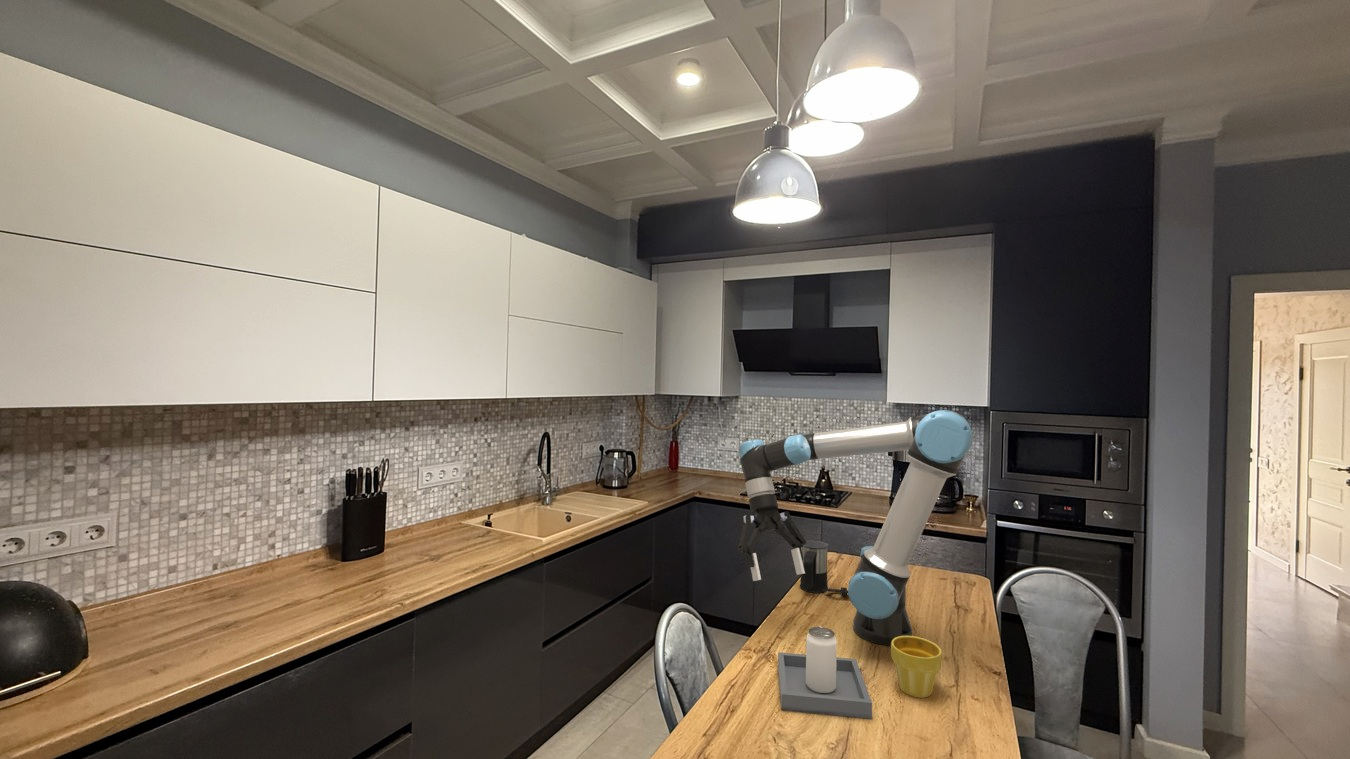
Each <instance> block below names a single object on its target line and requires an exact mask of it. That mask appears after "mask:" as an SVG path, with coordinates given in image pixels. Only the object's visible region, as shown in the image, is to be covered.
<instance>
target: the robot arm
mask: <svg viewBox="0 0 1350 759" xmlns="http://www.w3.org/2000/svg"><path fill="white" fill-rule="evenodd" d="M973 436H974V435H973V431H972V427H971V425H970V422H969V421H968V419H967V418H966V417H965V416H964V415H963V414H961V413H959V412H957V411H955V410H953V409H952V410H950V409H938V410H935V411H933V412H929V413H928V414H927V413H926V414H923V415H917V416H910V417H909V418H908V419H907V420H906V421H900V422H891V423H885V424H877V425H870V426H862V427H861V426H860V427H853V428H846V429H839V430H829V431H828V430H827V431H822V432H815V433H806V434H804V433H800V434H796V435H791V436H788V437H785V438H782V439H779V440H777V441H773V442H771V443H766V444H765V443H764V441H763V440H761V439H752V440H746V441H743V442H742V443H741V444H740V445H739V446H738V455H739V462H740V465H741V470H742V474H743V478H744V484H745V489H746V492H747V493H746V494H747V497H748V498H749V499H748V504H749V509H750V512H751V514H746V515H743V516H742V528H741V533H740V536H739V542H738V546H737V552H738V553H739V554H742V555H743V556H745V560H746V563H747V567H748V568H750V571H751V577H752V582H757V581H761V580H762V578H761V577H762V576H761V572H760V567H759V562H758V557H757V553H756V552H754V549H755V548H756V545H757V543H758V541H759V539H760V536H761V534H762V533H763V532H767V531H769V532H772V531H775V533H777V534H779V535H780V536H781V537H782V538H783V539H784V541H785V542H787V543H788V544H789V545H790V547H791V548H793V549H791V550H790V552H791V556H792V560H793V565H794V569H795V573H796V576H798V575H800V576H801V574H804V573H805V571H804V567H803V563H802V560H803V554H802V550H801V547H803V545H805V544H806V541H807V540H806V539H805V537H804V536H803V534H802V532H800V530H799V529H798V527H797V526H796V524H795V522H794V520H793V519H792V518H791V514H790V512H789V510H786V511H784V512H781V513H780V512H779V504H778V501H777V500H778V499H777V495H776V494H775V490H776V489H775V486H774V483H773V482H774V481H773V478H772V473H771V472H775V471H777V470H780V469H783V468H788V467H792V466H795V465H800V464H803V463H805V462H807V461H814V460H821V459H830V458H831V459H832V458H841V457H842V458H843V457H852V456H861V455H869V454H881V453H882V454H883V453H891V452H903V451H907V453H906V455H907V458H908V460H909V465H908V468H907V469H906V472H905V474H904V477H903V479H902V481H901V483H900V486H899V488H898V490H897V493H896V495H895V497H894V499H893V502H892V504H891V507H890V509H889V511H888V513H887V516H886V518H885V520H884V522H883V525H882V526H881V529H880V532H879V533H878V536H877V539H876V541H875V542H874V544H873V545H866V546H863V547H861V550H860V554H859V557H860V559H859V560H860V561H859V562H858V565H857V567H856V569H855V571H854V574H853V576H852V577H851V578H850V579H849V582H848V585H847V586H848V587H847V590H848V593H847V596H848V598H849V600H850V603H851V605H852V606H853V608H855V610H856V612H855V615H854V618H853V624H852V625H853V632H854V633H855V634H856V635H858V637H860V638H862V639H863V640H866V641H868V642H871V643H873V644H878V645H884V646H891V642H892V640H893V639H894V638H896V637H899V636H913V628H912V625H911V621H910V618H909V614H908V612H907V609H906V606H907V605H906V602H907V600H906V599H907V598H906V594H907V591H906V590H907V588H906V587H907V586H906V585H907V583H908V582H909V579H910V577H911V571H910V569H909V566H908V564H909V562H910V560H911V558H912V556H913V554H914V551H915V549H916V548H917V546H918V542H919V540H920V538H921V535H922V534H923V533H924V529H925V527H926V525H927V523H928V520H929V518H930V516H931V514H932V512H933V509H934V508H935V505H936V502H937V500H938V498H939V496H940V493H941V492H942V490H943V487H944V485H945V483H946V481H947V479H948V478H951V477H953V476H957V474H958V472H959V469H960V467H961V466H962V463H963V461H964V458H965V457H966V455H967V453H968V452H969V451H970V449H971V447H972V444H973V440H974V439H973V438H974V437H973ZM781 521H782V522H781ZM752 524H755V525H754V527H753V529H752V531H753V532H752V534H751V535H750V532H751V527H752ZM749 537H750V538H749Z"/></svg>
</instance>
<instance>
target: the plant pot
mask: <svg viewBox="0 0 1350 759" xmlns="http://www.w3.org/2000/svg"><path fill="white" fill-rule="evenodd" d="M890 656H891V659H892V661H893V662H894V665H895V670H896V676H897V682H898V686H899V688H900V690H901V691H902V692H903V693H904V694H907V695H909V696H911V697H914V698H921V699H923V698H924V699H925V698H928V697H930V696H931V695H932V693H933V690H934V685H935V681H936V678H937V674H938V671H939V670H941V668H942V662H943V660H942V659H943V651H942V649H941V647H940V646H939V645H938V644H936V643H935V642H933V641H931V640H928V639H926V638H923V637H919V636H914V635H912V636H899V637H896V638H894V639H893V640H892V642H891V645H890Z"/></svg>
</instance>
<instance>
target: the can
mask: <svg viewBox="0 0 1350 759" xmlns="http://www.w3.org/2000/svg"><path fill="white" fill-rule="evenodd" d="M835 634H836V633H835V632H834V631H833V629H830V628H828V627H824V626H812V627H810V628H809V629H808V634H807V636H806V646H805V648H806V649H805V651H806V652H805V655H806V684H807V686H808V687H809V689H811V690H812V691H814V692H817V693H821V694H828V693H831V692H833V691H834V690H835V689H836V657H837V638H836V636H835Z"/></svg>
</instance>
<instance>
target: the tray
mask: <svg viewBox="0 0 1350 759" xmlns="http://www.w3.org/2000/svg"><path fill="white" fill-rule="evenodd" d="M777 670H778V685H779V696H780V708H781V711H788V712H798V713H806V714H817V715H826V716H837V717H847V718H857V719H865V720H872V718H873V711H872V710H873V703H872V702H873V701H872V698H871V697H870V694H869V691H868V688H867V686H866V682H865V680H864V677H863V674H862V672H861V670H860V666H859V664H858V660H857V658H849V657H839V656H836V689H835V690H834V691H833V692H831V693H828V694H821V693H817V692H814V691H812V690H811V689H809V687H808V686H807V684H806V653H805V654H803V653H791V652H780V651H778V652H777Z"/></svg>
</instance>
